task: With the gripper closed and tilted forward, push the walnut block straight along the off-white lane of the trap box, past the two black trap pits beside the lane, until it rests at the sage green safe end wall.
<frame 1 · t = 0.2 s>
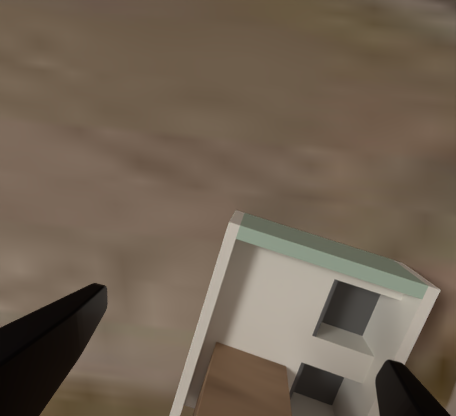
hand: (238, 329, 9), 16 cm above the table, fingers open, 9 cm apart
trap box: (258, 315, 25), on the table
walnut block: (240, 383, 23), point 3 cm above the table, touching trap box
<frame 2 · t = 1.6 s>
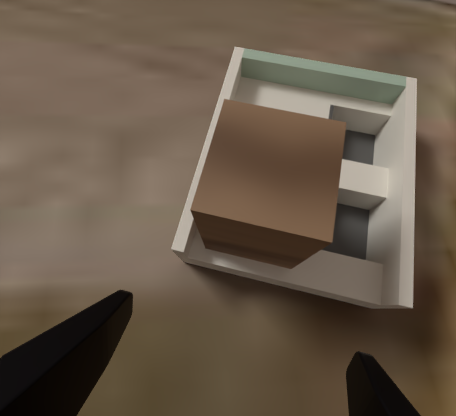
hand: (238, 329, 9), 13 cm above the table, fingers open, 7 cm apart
trap box: (264, 178, 24), on the table
walnut block: (256, 218, 20), point 3 cm above the table, touching trap box
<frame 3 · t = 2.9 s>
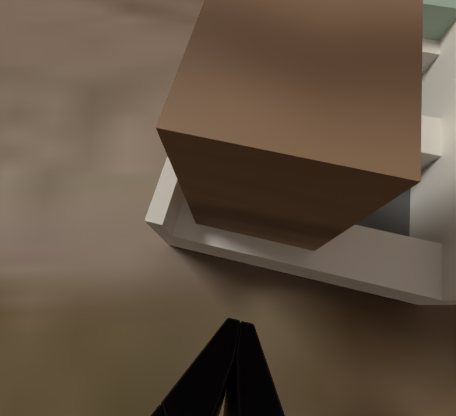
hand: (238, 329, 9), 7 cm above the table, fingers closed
trap box: (273, 139, 19), on the table
walnut block: (265, 183, 15), point 3 cm above the table, touching trap box
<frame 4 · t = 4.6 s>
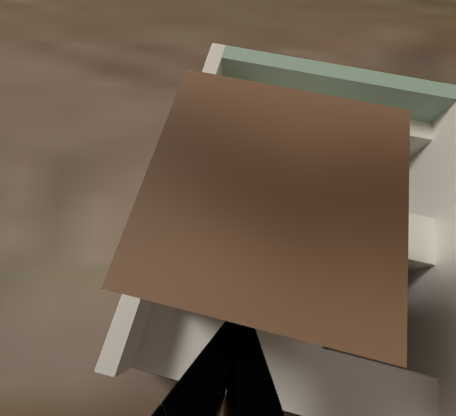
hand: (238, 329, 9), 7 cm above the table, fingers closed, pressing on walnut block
trap box: (255, 224, 18), on the table
walnut block: (249, 255, 14), point 3 cm above the table, touching gripper
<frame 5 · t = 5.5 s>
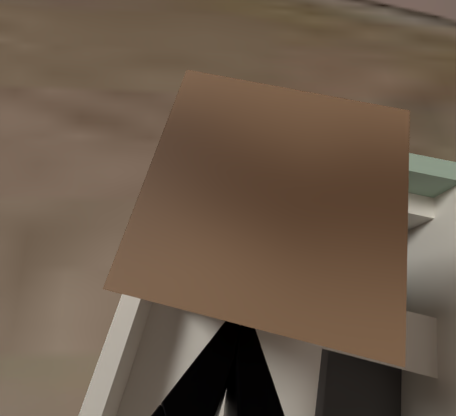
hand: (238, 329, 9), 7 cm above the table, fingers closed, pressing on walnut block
trap box: (237, 305, 16), on the table
walnut block: (250, 255, 14), point 3 cm above the table, touching gripper
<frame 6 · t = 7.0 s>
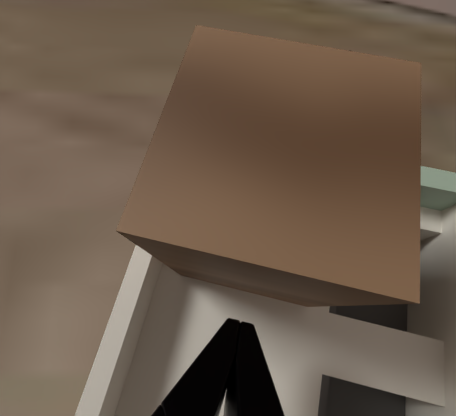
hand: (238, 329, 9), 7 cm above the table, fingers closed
trap box: (234, 322, 15), on the table
walnut block: (255, 230, 14), point 3 cm above the table, touching trap box
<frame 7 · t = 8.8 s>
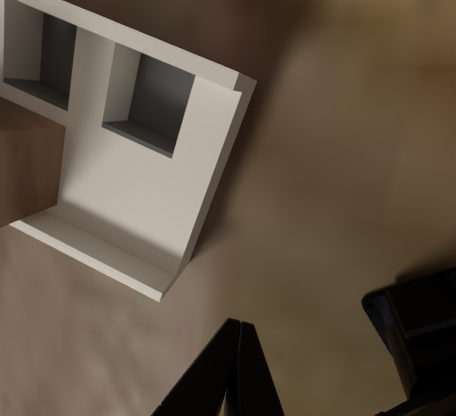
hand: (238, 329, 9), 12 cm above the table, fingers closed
trap box: (107, 168, 22), on the table
walnut block: (25, 150, 20), point 3 cm above the table, touching trap box
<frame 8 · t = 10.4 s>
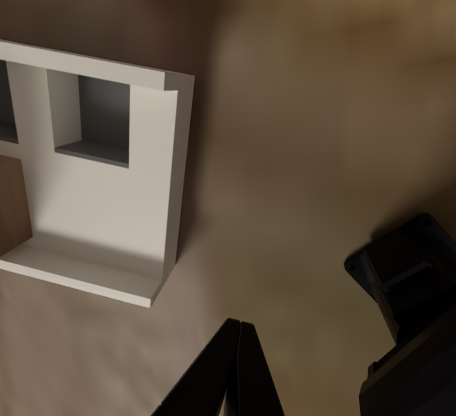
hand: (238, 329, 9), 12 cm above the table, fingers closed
trap box: (75, 190, 22), on the table
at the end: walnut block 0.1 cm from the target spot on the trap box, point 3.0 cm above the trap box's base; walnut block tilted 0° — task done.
